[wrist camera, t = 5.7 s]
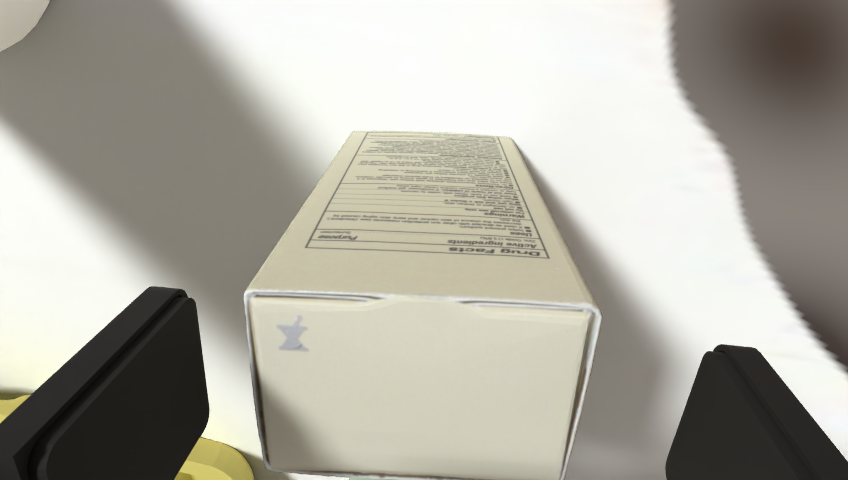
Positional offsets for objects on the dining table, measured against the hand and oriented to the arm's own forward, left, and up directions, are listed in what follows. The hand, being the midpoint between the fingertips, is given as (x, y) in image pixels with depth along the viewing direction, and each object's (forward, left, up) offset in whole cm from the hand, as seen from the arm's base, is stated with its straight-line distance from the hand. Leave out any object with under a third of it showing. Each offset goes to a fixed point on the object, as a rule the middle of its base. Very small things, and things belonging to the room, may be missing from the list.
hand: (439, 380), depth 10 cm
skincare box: (-1, 0, -12) cm, 12 cm away
